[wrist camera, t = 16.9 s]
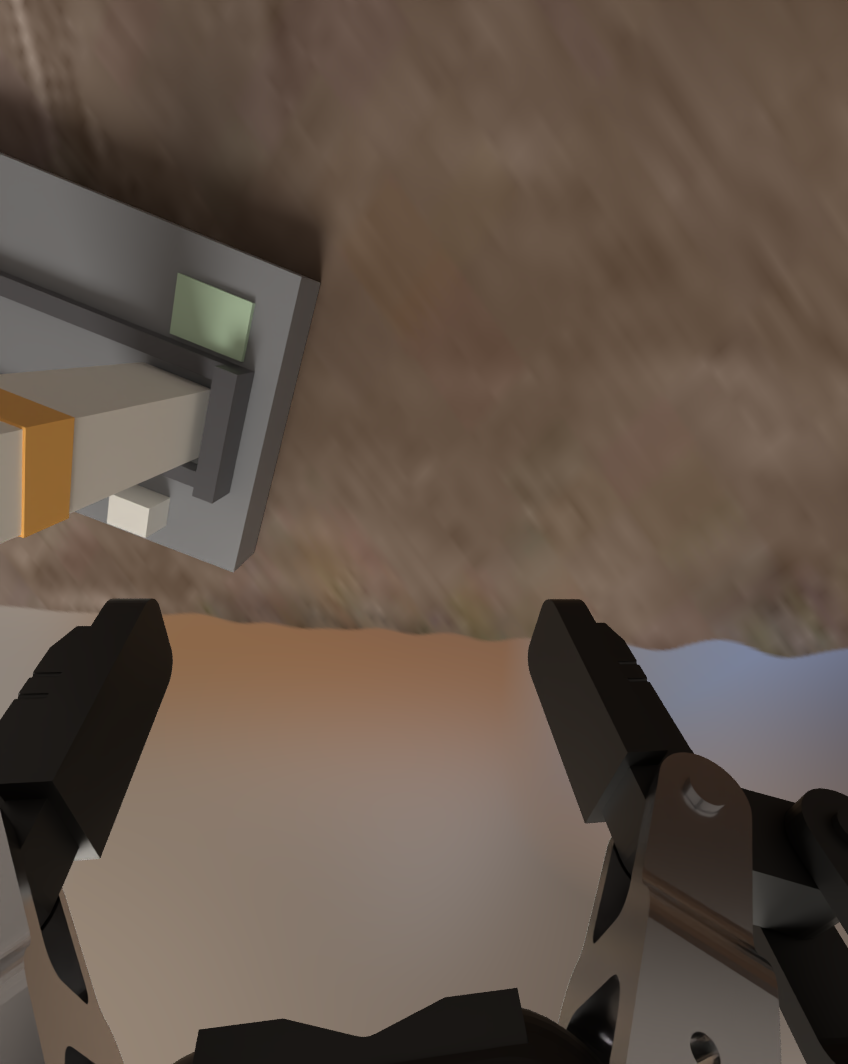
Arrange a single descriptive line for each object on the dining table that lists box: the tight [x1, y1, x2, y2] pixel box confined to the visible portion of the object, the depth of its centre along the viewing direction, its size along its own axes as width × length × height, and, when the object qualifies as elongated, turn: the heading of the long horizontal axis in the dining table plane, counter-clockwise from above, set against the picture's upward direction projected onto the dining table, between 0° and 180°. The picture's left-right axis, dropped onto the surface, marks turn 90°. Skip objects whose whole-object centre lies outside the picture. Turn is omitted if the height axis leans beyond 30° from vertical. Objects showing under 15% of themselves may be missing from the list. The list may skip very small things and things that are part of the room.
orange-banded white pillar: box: [0, 362, 211, 544], centre depth 21 cm, size 4×4×13 cm
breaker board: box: [0, 152, 320, 572], centre depth 27 cm, size 22×18×5 cm
